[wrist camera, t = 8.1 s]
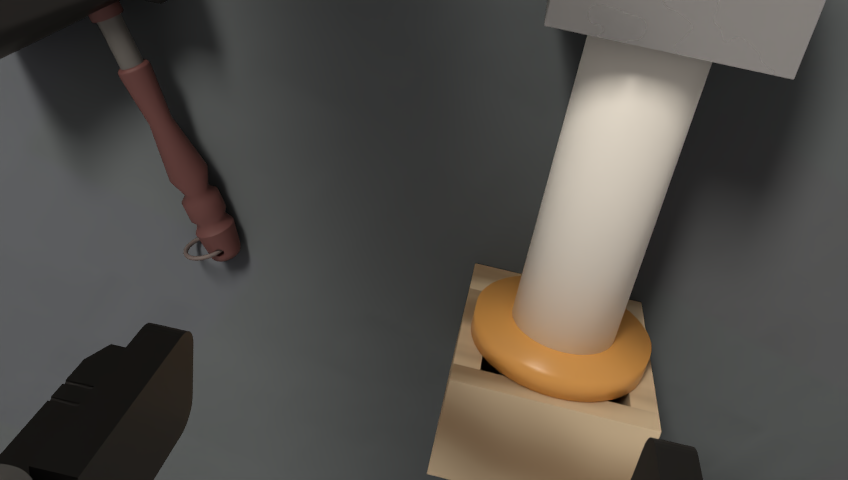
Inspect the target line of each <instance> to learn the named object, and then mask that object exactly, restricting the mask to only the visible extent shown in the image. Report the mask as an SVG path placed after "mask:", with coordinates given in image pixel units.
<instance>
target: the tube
mask: <svg viewBox="0 0 848 480" xmlns="http://www.w3.org/2000/svg"><path fill="white" fill-rule="evenodd" d="M711 65H712V62H710V61H705V60H701V59H696V58H691V57H687V56H682V55H677V54H673V53H668V52H664V51H659V50H654V49H650V48H645V47H641V46H636V45H631V44H627V43H622V42H618V41H613V40H608V39H604V38H599V37H594V36H590V35H587V38H586V42H585V45H584V49H583V53H582V56H581V60H580V64H579V67H578V71H577V75H576V78H575V82H574V86H573V89H572V93H571V96H570V100H569V104H568V107H567V111H566V115H565V118H564V122H563V126H562V129H561V133H560V137H559V140H558V144H557V148H556V151H555V155H554V159H553V162H552V166H551V170H550V173H549V177H548V181H547V184H546V188H545V192H544V195H543V199H542V203H541V206H540V210H539V214H538V217H537V221H536V225H535V228H534V232H533V236H532V239H531V243H530V246H529V250H528V254H527V257H526V261H525V265H524V268H523V272H522V276H513V277H508V278H504V279H501V280H498V281H496V282H493V283H491V284H490V285H488V286H487V287H486V288H485V289H483V290H482V292H481V293H480V295H479V296H478V299H477V302H476V306H475V310H474V314H473V318H472V322H471V335H472V338H473V341H474V344H475V346H476V347H477V349H478V351H479V352H480V353H481V355H482V356H483V357H484V358H485V359H486V361H487V362H488V363H489V364H490V365H492V366H493V367H494V368H495V369H496V371H495V374H499V375H503V376H506V377H507V378H509V379H511V380H513V381H514V382H516V383H518V384H520V385H522V386H524V387H526V388H528V389H530V390H533V391H536V392H538V393H541V394H544V395H548V396H551V397H555V398H559V399H564V400H570V401H578V402H601V401H608V400H613V399H616V398H619V397H622V396H624V395H626V394H628V393H630V392H631V391H632V390H634V389H635V388H636V387H637V385H638V384H639V383H640V381H641V379H642V377H643V374H644V371H645V369H646V366H647V363H648V361H649V358H650V355H651V341H650V338H649V335H648V333H647V331H646V330H645V328H644V327H643V325H642V324H641V323H640V321H639V320H638V319H637V318H636V317H635V316H634V315H633V314H632V313H631V312H630V311H628V310H627V309H626V306H627V303H628V300H629V297H630V295H631V292H632V289H633V286H634V283H635V280H636V278H637V275H638V272H639V269H640V266H641V263H642V261H643V258H644V255H645V252H646V249H647V246H648V244H649V241H650V238H651V235H652V232H653V229H654V227H655V224H656V221H657V218H658V215H659V212H660V210H661V207H662V204H663V201H664V198H665V195H666V193H667V190H668V187H669V184H670V181H671V178H672V175H673V173H674V170H675V167H676V164H677V161H678V158H679V156H680V153H681V150H682V147H683V144H684V141H685V139H686V136H687V133H688V130H689V127H690V124H691V122H692V119H693V116H694V113H695V110H696V107H697V105H698V102H699V99H700V96H701V93H702V90H703V88H704V85H705V82H706V79H707V76H708V73H709V71H710V68H711Z"/></svg>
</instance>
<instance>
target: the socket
mask: <svg viewBox="0 0 848 480" xmlns="http://www.w3.org/2000/svg"><path fill="white" fill-rule="evenodd" d="M513 276H522V274H519V273H515V272H510V271H506V270H502V269H498V268H493V267H489V266H485V265H481V264H477V263H475V267H474V271H473V275H472V279H471V283H470V288H469V292H468V296H467V300H466V304H465V308H464V313H463V317H462V321H461V325H460V329H459V333H458V338H457V342H456V346H455V351H454V355H453V359H452V364H451V368H450V373H449V377H448V382H447V386H446V391H445V395H444V399H443V404H442V408H441V413H440V417H439V422H438V426H437V431H436V435H435V440H434V444H433V448H432V453H431V457H430V462H429V466H428V471H427V474H429V475H433V476H437V477H441V478H445V479H449V480H631V478H632V475H633V473H634V470H635V468H636V465H637V462H638V460H639V457H640V455H641V452H642V450H643V447H644V445H645V443H646V441H647V440H648V438H650V437H652V438H656V439H659V437H660V434H661V426H660V419H659V413H658V406H657V400H656V394H655V387H654V381H653V374H652V368H651V361H650V358H649V361H648V363H647V366H646V369H645V371H644V374H643V377H642V379H641V381H640V383H639V384H638V385H637V387H636V388H635V389H634V390H632V391H631V392H630V393H628V394H626V395H624V396H622V397H619V398H616V399H613V400H608V401H601V402H578V401H570V400H564V399H559V398H555V397H551V396H548V395H544V394H541V393H538V392H536V391H533V390H530V389H528V388H526V387H524V386H522V385H520V384H518V383H516V382H514V381H513V380H511V379H509V378H507V377H506V376H503V375H499V374H495V371H496V369H495V368H494V367H493V366H492V365H490V364H489V363H488V362H487V361H486V359H485V358H484V357H483V356H482V355H481V353H480V352H479V351H478V349H477V347H476V346H475V344H474V341H473V338H472V335H471V322H472V318H473V314H474V310H475V306H476V302H477V299H478V296H479V295H480V293H481V292H482V290H483V289H485V288H486V287H487V286H488V285H490V284H491V283H493V282H496V281H498V280H501V279H504V278H508V277H513ZM626 309H627V310H628V311H630V312H631V313H632V314H633V315H634V316H635V317H636V318H637V319H638V320H639V321H640V323H641V324H642V325H643V327H644V328H645V323H644V316H643V310H642V304H641V302H637V301H633V300H628V303H627V306H626ZM645 330H646V329H645Z"/></svg>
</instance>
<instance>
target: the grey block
mask: <svg viewBox="0 0 848 480" xmlns="http://www.w3.org/2000/svg"><path fill="white" fill-rule="evenodd" d="M825 1H826V0H547V7H546V15H545V22H544V26H548V27H553V28H558V29H562V30H567V31H571V32H576V33H581V34H585V35H590V36H594V37H599V38H604V39H608V40H613V41H618V42H622V43H627V44H631V45H636V46H641V47H645V48H650V49H654V50H659V51H664V52H668V53H673V54H677V55H682V56H687V57H691V58H696V59H701V60H705V61H710V62H714V63H719V64H724V65H728V66H733V67H737V68H742V69H747V70H751V71H756V72H761V73H765V74H770V75H774V76H779V77H784V78H788V79H793V80H794V78H795V75H796V73H797V70H798V68H799V66H800V63H801V61H802V58H803V56H804V53H805V51H806V48H807V46H808V43H809V41H810V38H811V36H812V33H813V31H814V29H815V26H816V24H817V21H818V19H819V16H820V14H821V11H822V9H823V6H824V4H825Z"/></svg>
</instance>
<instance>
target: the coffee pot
mask: <svg viewBox="0 0 848 480" xmlns="http://www.w3.org/2000/svg"><path fill="white" fill-rule="evenodd" d="M119 1H120V0H0V59H1V58H3V57H5V56H7V55H9V54H11V53H13V52H16V51H18V50H20V49H22V48H24V47H26V46H28V45H30V44H32V43H34V42H36V41H38V40H40V39H42V38H44V37H46V36H48V35H50V34H52V33H54V32H56V31H58V30H61V29H63V28H65V27H67V26H69V25H71V24H73V23H75V22H77V21H79V20H81V19H83V18H85V17H87V16H89V18H90V20H91V22H92V23H97V24H98V26H99V28H100V30H101V32H102V34H103V36H104V38H105V40H106V42H107V43H108V45H109V47H110V49H111V51H112V53H113V55H114V57H115V59H116V61H117V63H118V65H119V67H120V69H119V71H118V75H119V77H120V79H121V80H122V82H123V83H124V85H125V87H126V88H127V90H128V91H129V93H130V95H131V96H132V98H133V99H134V101H135V103H136V104H137V106H138V107H139V109H140V111H141V112H142V114H143V115H144V117H145V119H146V120H147V122H148V123H149V125H150V128H151V130H152V133H153V136H154V139H155V141H156V144H157V147H158V150H159V152H160V155H161V158H162V161H163V163H164V166H165V169H166V172H167V174H168V177H169V180H170V182H171V183H172V184H173V185H174V186H175V187H176V188H178V189H179V190H180V191H181V192H182V193H183V194H184V195H185V196H184V198H183V200H182V205H183V207H184V209H185V210H186V212H187V214H188V216H189V218H190V220H191V222H192V223H194V224H197V230H196V235H197V238H195V239H194V240H192V241H191V242H189V243H188V244H187V245H186V247H185V248H184V253H183V254H184V256H185V257H186V258H187V259H189V260H195V261H198V260H205V259H209V258H212V259H214V260H215V261H221V262H222V261H227V260H230V259H232V258H233V257H235V256H236V255H237V254H238V253H239V251H240V249H241V244H240V240H239V237H238V233H237V229H236V226H235V222H234V219H233V217H232V216H231V215H229V214H227V213H226V212H225V209H226V205H225V202H224V200H223V198H222V196H221V194H220V192H219V190H218V188H217V187H216V186H212V185H208V167H207V164H206V163H205V161H204V160H203V159H202V157H201V156H200V154H199V153H198V152H197V150H196V149H195V148H194V146H193V145H192V144H191V142H190V141H189V139H188V138H187V137H186V135H185V134H184V133H183V131H182V130H181V129H180V127H179V126H178V125H177V123H176V122H175V120H174V119H173V118H172V116H171V114H170V111H169V109H168V106H167V104H166V101H165V99H164V96H163V94H162V91H161V89H160V86H159V84H158V81H157V79H156V76H155V73H154V71H153V68H152V66H151V63H150V62H149V61H148V60H146V59H143V58H142V56H141V54H140V52H139V50H138V48H137V46H136V44H135V42H134V40H133V38H132V36H131V34H130V32H129V30H128V28H127V26H126V24H125V22H124V20H123V18H122V16H121V14H120V13H122V12H123V8H122V6H121V4H120V2H119ZM146 1H150V2H155V3H160V4H161V3H164V2H166V1H167V0H146ZM198 241H201V243H202V244H203V245H204V247H205V248H206V250H207V251H208V253H209V254H207V255H203V256H191V255H189V254H188V250H189V248H190V247H191V246H192V245H194V244H195V243H197V242H198Z"/></svg>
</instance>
